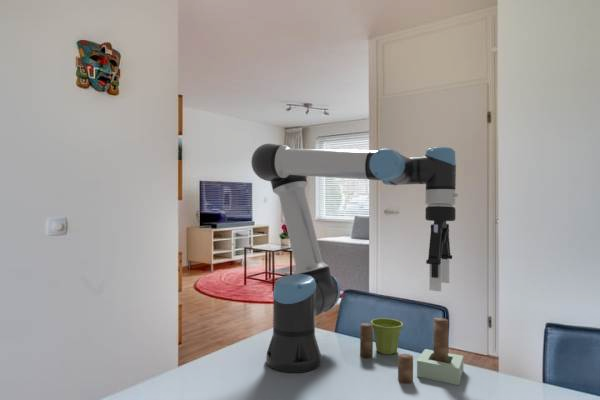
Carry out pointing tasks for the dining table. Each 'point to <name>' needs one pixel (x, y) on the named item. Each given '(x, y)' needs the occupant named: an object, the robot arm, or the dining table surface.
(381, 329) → the plant pot
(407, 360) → the peg short
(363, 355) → the peg medium
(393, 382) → the dining table surface
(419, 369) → the hole block
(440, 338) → the peg long
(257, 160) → the robot arm
